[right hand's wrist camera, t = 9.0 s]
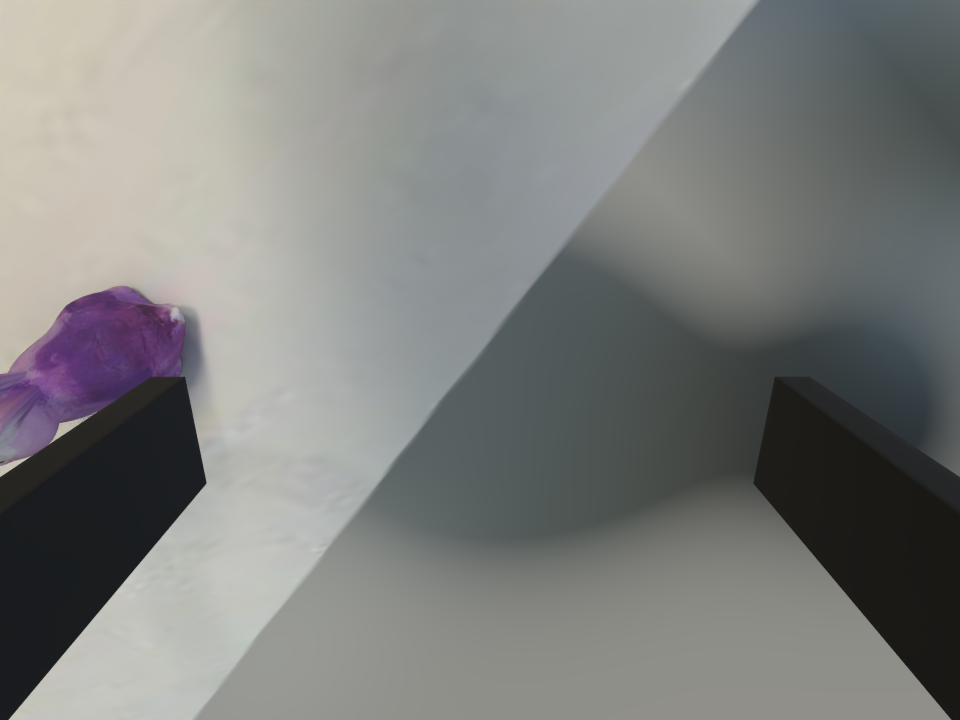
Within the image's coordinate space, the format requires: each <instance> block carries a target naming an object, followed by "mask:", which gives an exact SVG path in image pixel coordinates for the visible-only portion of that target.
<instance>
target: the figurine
mask: <svg viewBox="0 0 960 720" xmlns="http://www.w3.org/2000/svg"><path fill="white" fill-rule="evenodd" d="M184 334H185V319H184V316H183V314H182V312H181V311H180V309H179V308H178V307H177V306H175V305H173V304H162V305H154V304H152V303H150V302H149V301H148V300H146V299H144V298H143V297H142V296H140V295H139V294H138V293H137V292H136V291H134V290H133V289H131V288H129V287H126V286H118V287H112V288H110V289H107V290H105V291H102V292H99V293H94V294H90V295H87V296H84V297H81V298H79V299H77V300H75V301H73V302H71V303H70V304H68V305H67V306H66V307H65V308H64V309H63V310H62V312H61V313H60V314H59V316H58V317H57V319H56V321H55V322H54V324H53V325H52V327H51V328H50V329H49V330H48V332H47V333H46V334H45V335H44V336H43V337H41V338H40V339H39V340H37V341H36V342H35V343H34V344H32V345H31V346H30V347H29V348H28V349H27V350H26V351H25V352H23V353H22V354H21V355H20V356H19V357H18V358H17V360H16V361H15V362H14V364H13V365H12V367H11V368H10V370H9V372H8V373H5V374H0V466H2V465H5V464H8V463H10V462H13V461H15V460H19V459H23V458H26V457H29V456H32V455H34V454H36V453H37V452H39V451H40V450H42V449H43V448H45V447H46V446H47V445H48V444H49V443H50V442H51V441H52V440H53V438H54V436H55V435H56V432H57V430H58V426H59V423H63V422H68V421H72V420H76V419H79V418H82V417H85V416H88V415H90V414H92V413H94V412H96V411H100V410H102V409H103V408H105V407H106V406H108V405H109V404H111V403H112V402H114V401H115V400H117V399H118V398H120V397H121V396H123V395H124V394H126V393H127V392H129V391H130V390H132V389H133V388H135V387H136V386H138V385H139V384H141V383H142V382H144V381H145V380H147V379H148V378H150V377H178V376H179V375H180V373H181V371H182V360H181V358H180V354H181V351H182V348H183V343H184Z"/></svg>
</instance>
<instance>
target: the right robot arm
mask: <svg viewBox="0 0 960 720" xmlns="http://www.w3.org/2000/svg"><path fill="white" fill-rule="evenodd" d="M205 485H206V478H205V473H204V468H203V463H202V458H201V453H200V448H199V443H198V439H197V434H196V429H195V424H194V419H193V414H192V409H191V404H190V399H189V394H188V389H187V384H186V379H185V377H150V378H148V379H147V380H145V381H144V382H142V383H141V384H139V385H138V386H136V387H135V388H133V389H132V390H130V391H129V392H127V393H126V394H124V395H123V396H121V397H120V398H118V399H117V400H115V401H114V402H112V403H111V404H109V405H108V406H106V407H105V408H103V409H102V410H100V411H99V412H97V413H96V414H94V415H93V416H91V417H90V418H88V419H87V420H85V421H84V422H82V423H81V424H79V425H78V426H76V427H75V428H73V429H72V430H70V431H69V432H67V433H66V434H64V435H63V436H61V437H60V438H58V439H57V440H55V441H54V442H52V443H51V444H49V445H48V446H46V447H45V448H43V449H42V450H40V451H39V452H37V453H36V454H34V455H33V456H31V457H30V458H28V459H27V460H25V461H24V462H22V463H21V464H19V465H18V466H16V467H15V468H13V469H12V470H10V471H9V472H7V473H6V474H4V475H3V476H1V477H0V720H9V718H10V717H11V716H12V715H13V714H14V713H15V711H16V710H17V709H18V708H19V707H20V705H21V704H22V703H23V702H24V701H25V699H26V698H27V697H28V696H29V695H30V693H31V692H32V691H33V690H34V689H35V687H36V686H37V685H38V684H39V683H40V681H41V680H42V679H43V678H44V677H45V676H46V674H47V673H48V672H49V671H50V670H51V668H52V667H53V666H54V665H55V664H56V662H57V661H58V660H59V659H60V658H61V656H62V655H63V654H64V653H65V652H66V650H67V649H68V648H69V647H70V646H71V644H72V643H73V642H74V641H75V640H76V639H77V637H78V636H79V635H80V634H81V633H82V631H83V630H84V629H85V628H86V627H87V625H88V624H89V623H90V622H91V621H92V619H93V618H94V617H95V616H96V615H97V613H98V612H99V611H100V610H101V609H102V607H103V606H104V605H105V604H106V603H107V602H108V600H109V599H110V598H111V597H112V596H113V594H114V593H115V592H116V591H117V590H118V588H119V587H120V586H121V585H122V584H123V582H124V581H125V580H126V579H127V578H128V576H129V575H130V574H131V573H132V572H133V570H134V569H135V568H136V567H137V566H138V565H139V563H140V562H141V561H142V560H143V559H144V557H145V556H146V555H147V554H148V553H149V551H150V550H151V549H152V548H153V547H154V545H155V544H156V543H157V542H158V541H159V539H160V538H161V537H162V536H163V535H164V533H165V532H166V531H167V530H168V529H169V528H170V526H171V525H172V524H173V523H174V522H175V520H176V519H177V518H178V517H179V516H180V514H181V513H182V512H183V511H184V510H185V508H186V507H187V506H188V505H189V504H190V502H191V501H192V500H193V499H194V498H195V496H196V495H197V494H198V493H199V492H200V491H201V489H202V488H203V487H204V486H205ZM754 485H755V486H756V487H757V488H758V489H759V491H760V492H761V493H762V494H763V495H764V496H765V498H766V499H767V500H768V501H769V502H770V504H771V505H772V506H773V507H774V508H775V510H776V511H777V512H778V513H779V514H780V516H781V517H782V518H783V519H784V520H785V522H786V523H787V524H788V525H789V526H790V528H791V529H792V530H793V531H794V532H795V533H796V535H797V536H798V537H799V538H800V539H801V541H802V542H803V543H804V544H805V545H806V547H807V548H808V549H809V550H810V551H811V553H812V554H813V555H814V556H815V557H816V559H817V560H818V561H819V562H820V563H821V565H822V566H823V567H824V568H825V569H826V570H827V572H828V573H829V574H830V575H831V576H832V578H833V579H834V580H835V581H836V582H837V584H838V585H839V586H840V587H841V588H842V590H843V591H844V592H845V593H846V594H847V596H848V597H849V598H850V599H851V600H852V602H853V603H854V604H855V605H856V606H857V607H858V609H859V610H860V611H861V612H862V613H863V615H864V616H865V617H866V618H867V619H868V621H869V622H870V623H871V624H872V625H873V627H874V628H875V629H876V630H877V631H878V633H879V634H880V635H881V636H882V637H883V638H884V640H885V641H886V642H887V643H888V644H889V646H890V647H891V648H892V649H893V650H894V652H895V653H896V654H897V655H898V656H899V658H900V659H901V660H902V661H903V662H904V664H905V665H906V666H907V667H908V668H909V670H910V671H911V672H912V673H913V674H914V676H915V677H916V678H917V679H918V680H919V681H920V683H921V684H922V685H923V686H924V687H925V689H926V690H927V691H928V692H929V693H930V695H931V696H932V697H933V698H934V699H935V701H936V702H937V703H938V704H939V705H940V707H941V708H942V709H943V710H944V711H945V713H946V714H947V715H948V716H949V717H950V719H951V720H960V477H959V476H957V475H956V474H954V473H953V472H951V471H950V470H948V469H947V468H945V467H944V466H942V465H941V464H939V463H938V462H936V461H935V460H933V459H932V458H930V457H929V456H927V455H926V454H924V453H923V452H921V451H920V450H918V449H917V448H915V447H914V446H912V445H911V444H909V443H908V442H906V441H905V440H903V439H902V438H900V437H899V436H897V435H896V434H894V433H893V432H891V431H890V430H888V429H887V428H885V427H884V426H882V425H881V424H879V423H878V422H876V421H875V420H873V419H872V418H870V417H869V416H867V415H866V414H864V413H863V412H861V411H860V410H858V409H857V408H855V407H854V406H852V405H851V404H849V403H848V402H846V401H845V400H843V399H842V398H840V397H839V396H837V395H836V394H834V393H833V392H831V391H830V390H828V389H827V388H825V387H824V386H822V385H821V384H819V383H818V382H816V381H815V380H813V379H812V378H810V377H775V379H774V384H773V389H772V394H771V399H770V404H769V409H768V414H767V419H766V424H765V429H764V434H763V439H762V443H761V448H760V453H759V458H758V463H757V468H756V473H755V478H754Z"/></svg>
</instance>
